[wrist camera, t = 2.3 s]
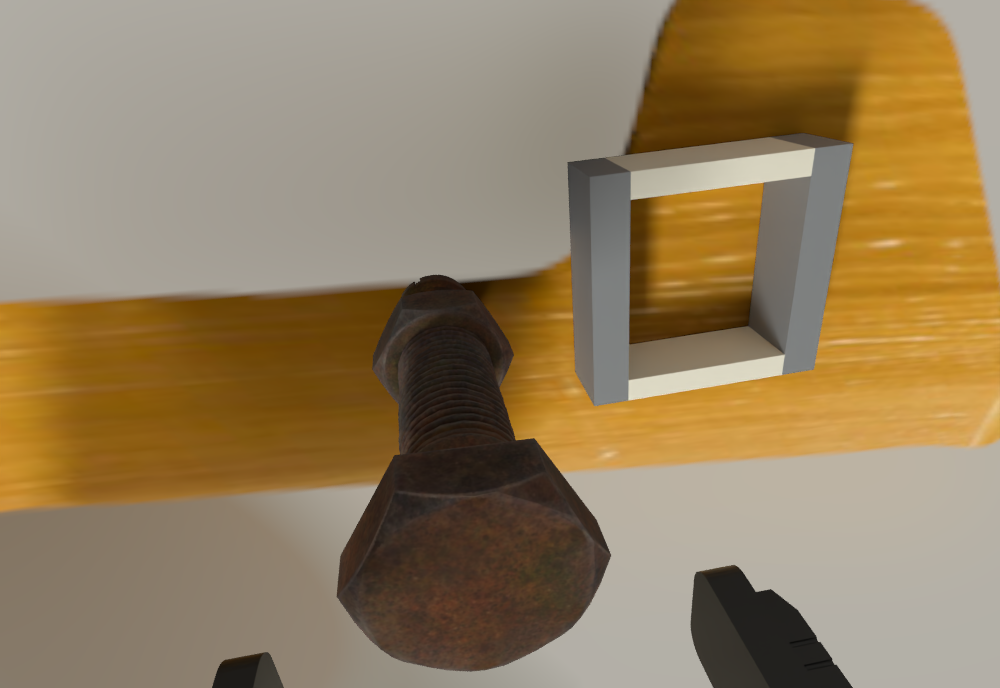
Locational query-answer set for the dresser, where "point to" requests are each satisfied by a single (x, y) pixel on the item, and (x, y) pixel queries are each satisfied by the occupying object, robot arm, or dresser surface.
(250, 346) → the dresser surface
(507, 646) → the bolt
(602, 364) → the grey white square frame
